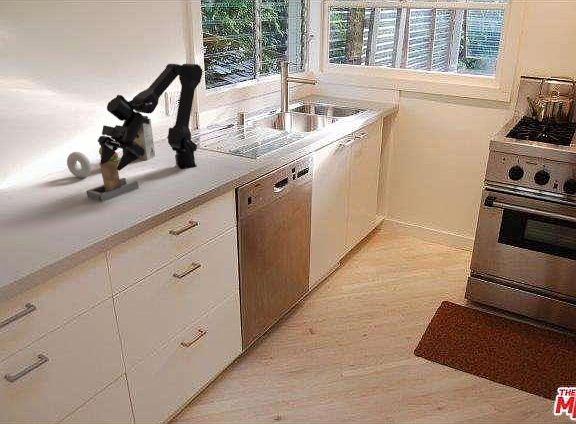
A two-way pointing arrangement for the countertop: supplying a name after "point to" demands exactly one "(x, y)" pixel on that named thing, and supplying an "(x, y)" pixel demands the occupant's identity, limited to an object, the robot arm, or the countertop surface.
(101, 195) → the grey tray
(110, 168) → the brown wooden block
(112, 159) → the hamburger
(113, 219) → the countertop surface
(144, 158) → the coffee box
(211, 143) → the countertop surface
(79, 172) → the donut
